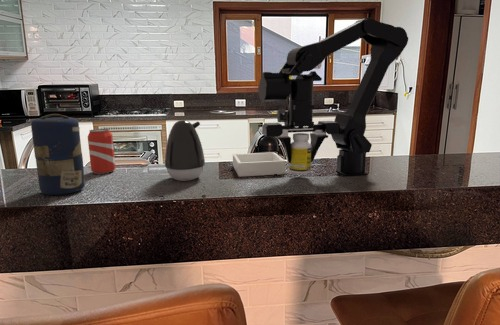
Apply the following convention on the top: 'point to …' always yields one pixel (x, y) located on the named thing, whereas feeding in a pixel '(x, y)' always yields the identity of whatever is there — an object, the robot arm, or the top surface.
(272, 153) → the tray
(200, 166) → the pump dispenser
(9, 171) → the top surface
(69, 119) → the canister
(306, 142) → the supplement bottle
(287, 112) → the robot arm
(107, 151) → the beverage can
